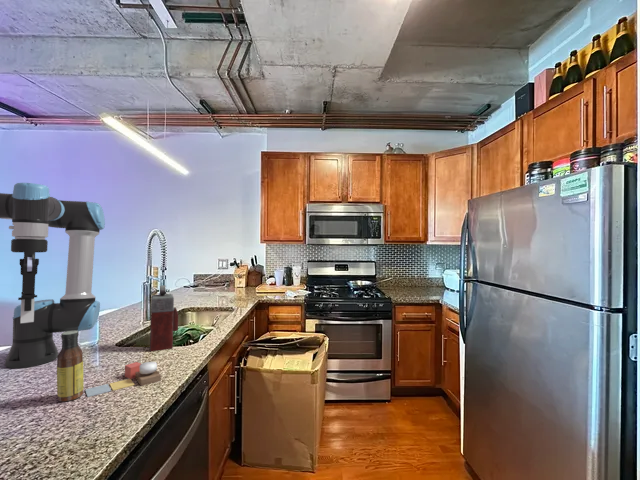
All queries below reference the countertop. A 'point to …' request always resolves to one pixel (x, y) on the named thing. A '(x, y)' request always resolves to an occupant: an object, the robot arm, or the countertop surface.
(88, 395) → the square
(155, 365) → the dome
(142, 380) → the brown flat block
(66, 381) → the sauce bottle
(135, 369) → the die
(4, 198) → the robot arm
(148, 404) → the countertop surface
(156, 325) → the dark red rectangular canister
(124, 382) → the square
